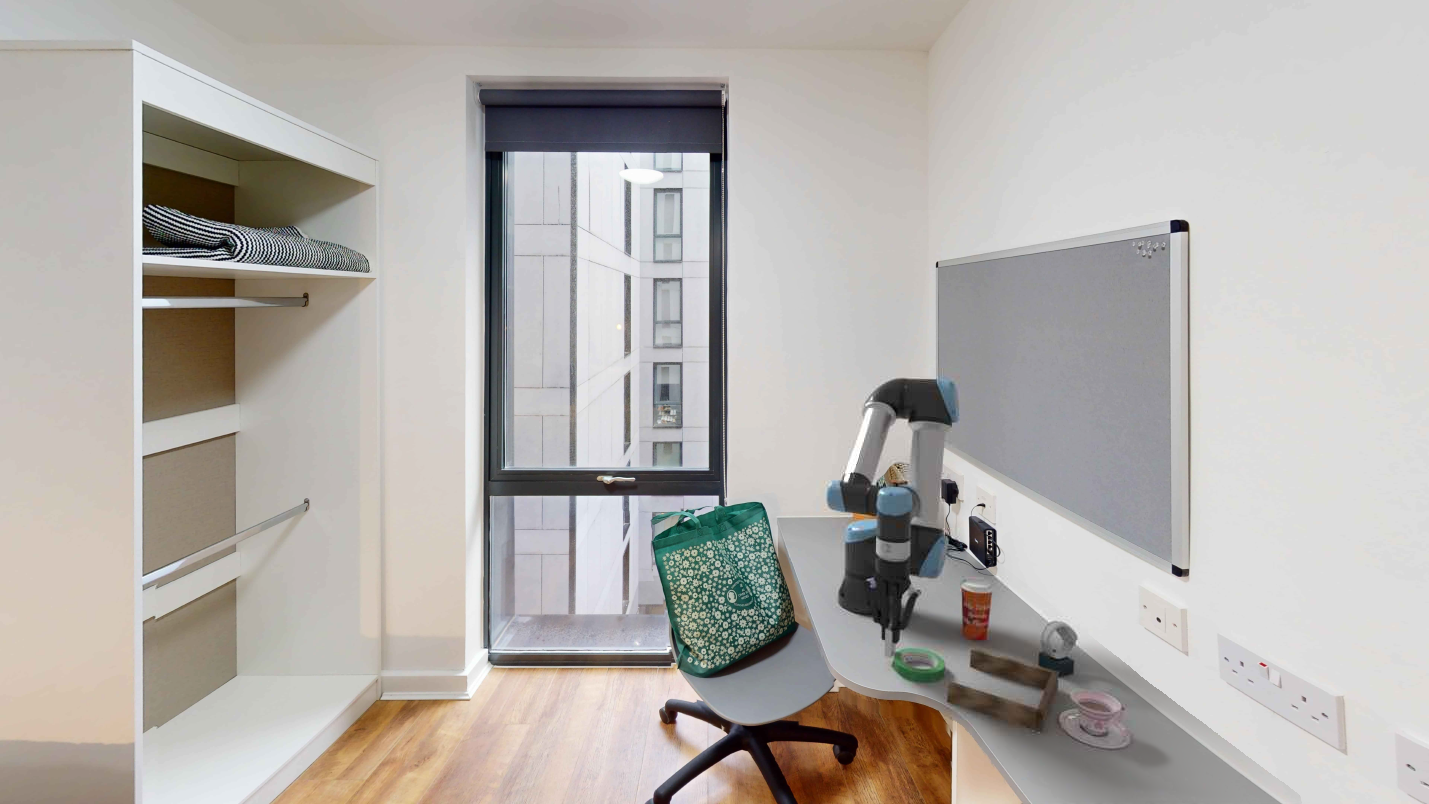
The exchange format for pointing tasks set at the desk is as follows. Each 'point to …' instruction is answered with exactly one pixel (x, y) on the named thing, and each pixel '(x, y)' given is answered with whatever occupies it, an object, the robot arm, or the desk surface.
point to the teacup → (1095, 720)
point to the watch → (1059, 658)
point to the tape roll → (917, 673)
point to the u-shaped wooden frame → (1002, 706)
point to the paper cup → (976, 607)
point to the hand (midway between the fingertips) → (890, 654)
